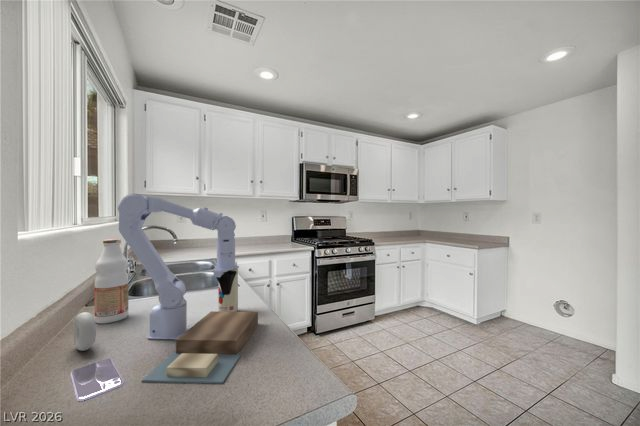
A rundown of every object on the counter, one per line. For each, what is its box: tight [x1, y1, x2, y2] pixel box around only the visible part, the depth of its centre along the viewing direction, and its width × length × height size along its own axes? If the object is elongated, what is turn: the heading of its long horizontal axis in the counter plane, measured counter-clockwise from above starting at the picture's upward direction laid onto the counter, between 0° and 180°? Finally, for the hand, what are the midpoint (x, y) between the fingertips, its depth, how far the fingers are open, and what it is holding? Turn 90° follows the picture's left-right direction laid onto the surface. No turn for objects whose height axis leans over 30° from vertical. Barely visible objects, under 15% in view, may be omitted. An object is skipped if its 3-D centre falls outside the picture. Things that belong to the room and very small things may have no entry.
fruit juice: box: [94, 238, 129, 324], centre depth 93 cm, size 9×9×28 cm
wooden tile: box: [167, 353, 218, 377], centre depth 61 cm, size 9×6×2 cm, turn 88°
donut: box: [72, 311, 97, 352], centre depth 72 cm, size 10×4×10 cm, turn 54°
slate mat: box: [141, 351, 242, 385], centre depth 63 cm, size 18×12×1 cm, turn 88°
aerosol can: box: [217, 268, 239, 312], centre depth 98 cm, size 7×7×20 cm
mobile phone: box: [69, 358, 125, 402], centre depth 59 cm, size 8×1×15 cm
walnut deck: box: [175, 311, 259, 355], centre depth 78 cm, size 16×20×4 cm
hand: (226, 294), depth 86 cm, fingers closed
